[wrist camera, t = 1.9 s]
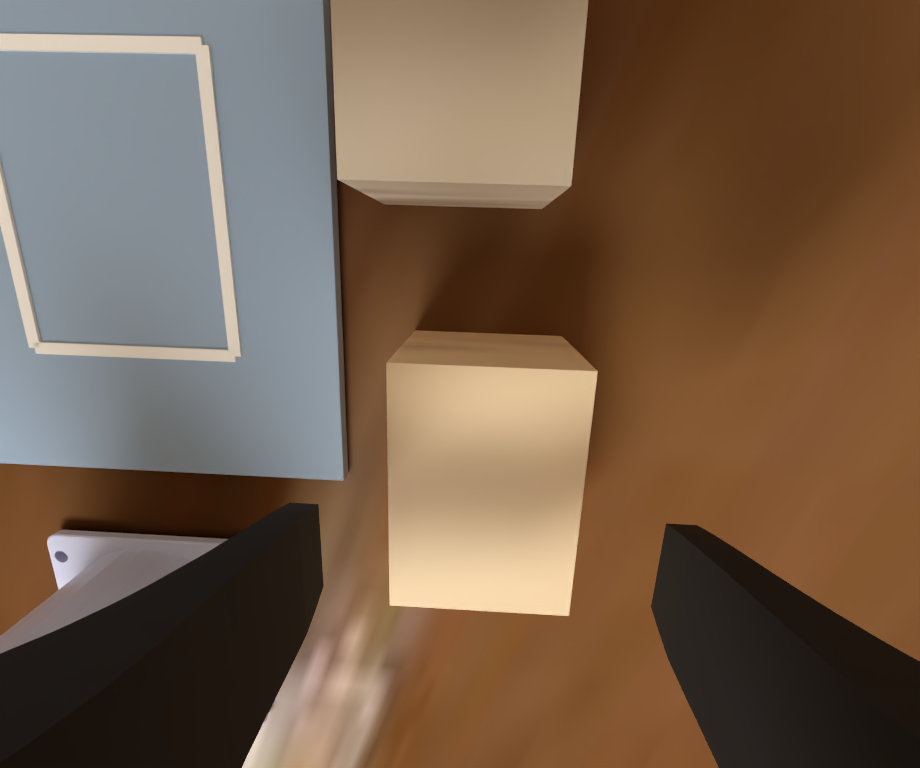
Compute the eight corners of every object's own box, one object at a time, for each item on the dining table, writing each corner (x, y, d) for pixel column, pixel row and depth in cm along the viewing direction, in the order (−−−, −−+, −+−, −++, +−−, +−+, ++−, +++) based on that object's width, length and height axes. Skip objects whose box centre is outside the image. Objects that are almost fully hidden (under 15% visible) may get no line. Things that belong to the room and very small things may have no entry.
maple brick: (544, 516, 17) (568, 615, 13) (414, 509, 18) (389, 605, 13) (561, 335, 15) (597, 371, 11) (415, 329, 16) (386, 362, 11)
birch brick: (541, 209, 14) (571, 186, 10) (385, 204, 15) (337, 179, 10) (562, -63, 12) (612, -263, 8) (381, -64, 13) (320, -261, 8)
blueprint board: (348, 472, 17) (342, 482, 16) (-10, 454, 18) (-29, 462, 17) (323, -138, 12) (314, -161, 11) (-173, -139, 13) (-210, -161, 12)
